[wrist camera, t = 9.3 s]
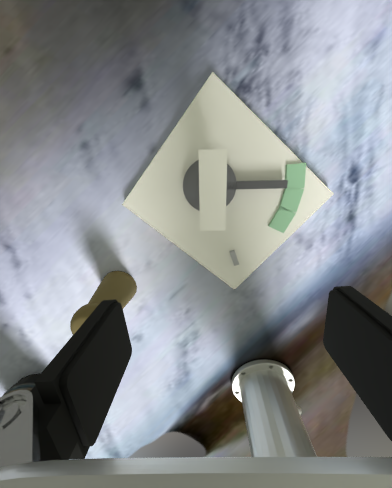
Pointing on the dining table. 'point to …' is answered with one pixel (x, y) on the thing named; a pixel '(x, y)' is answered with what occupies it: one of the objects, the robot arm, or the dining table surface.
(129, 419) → the dining table surface
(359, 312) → the robot arm
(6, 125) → the dining table surface
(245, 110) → the dial board
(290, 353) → the dining table surface
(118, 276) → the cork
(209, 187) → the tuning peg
